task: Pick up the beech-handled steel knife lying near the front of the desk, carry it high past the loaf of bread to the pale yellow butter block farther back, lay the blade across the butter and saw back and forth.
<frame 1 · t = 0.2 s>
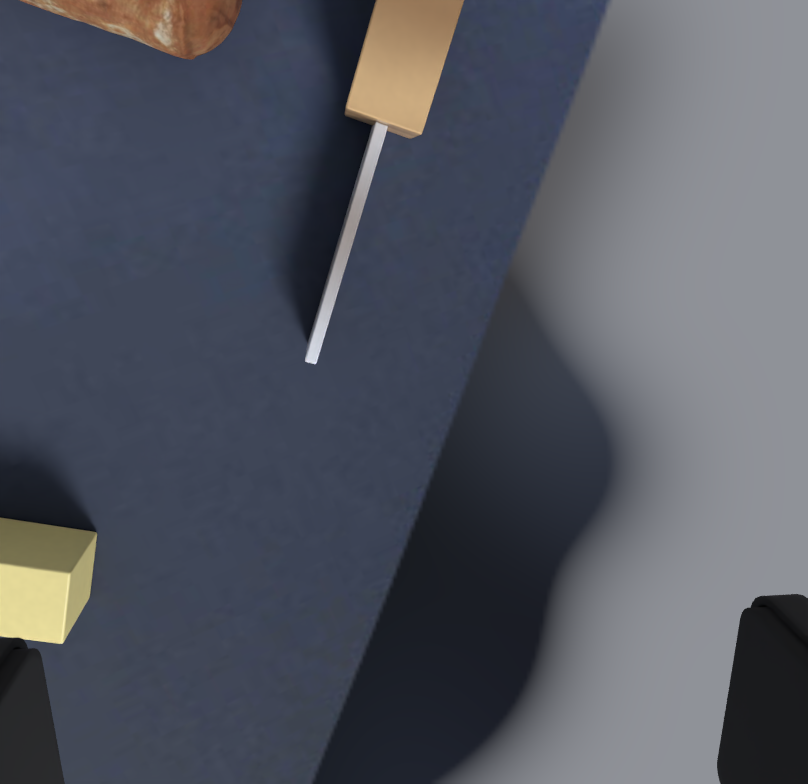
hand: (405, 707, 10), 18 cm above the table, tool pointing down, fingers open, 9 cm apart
knife: (410, 19, 23), on the table
butter: (27, 555, 28), on the table
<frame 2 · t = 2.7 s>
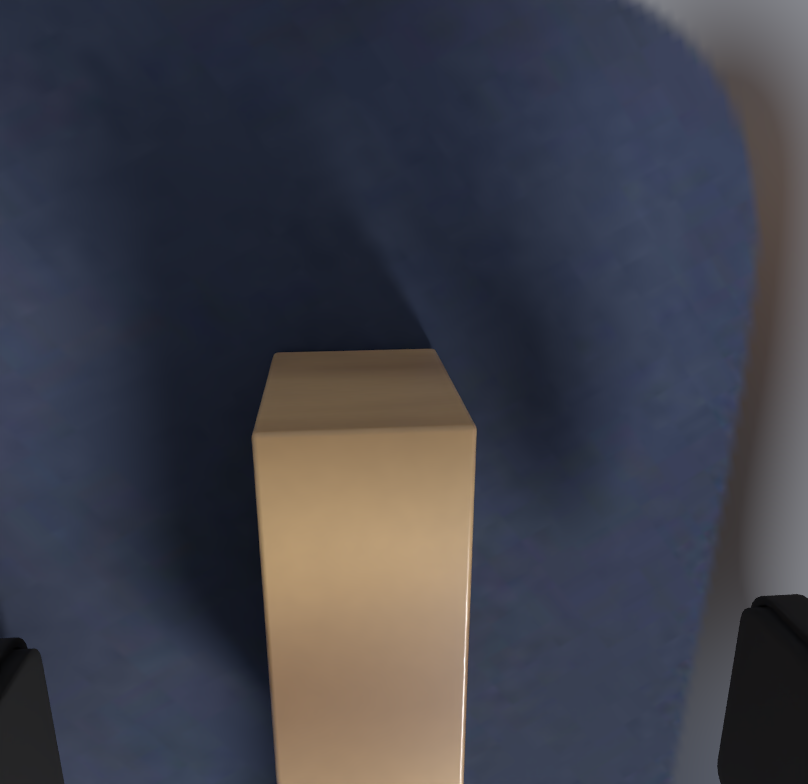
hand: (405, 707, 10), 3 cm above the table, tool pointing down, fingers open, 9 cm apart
knife: (359, 556, 12), on the table
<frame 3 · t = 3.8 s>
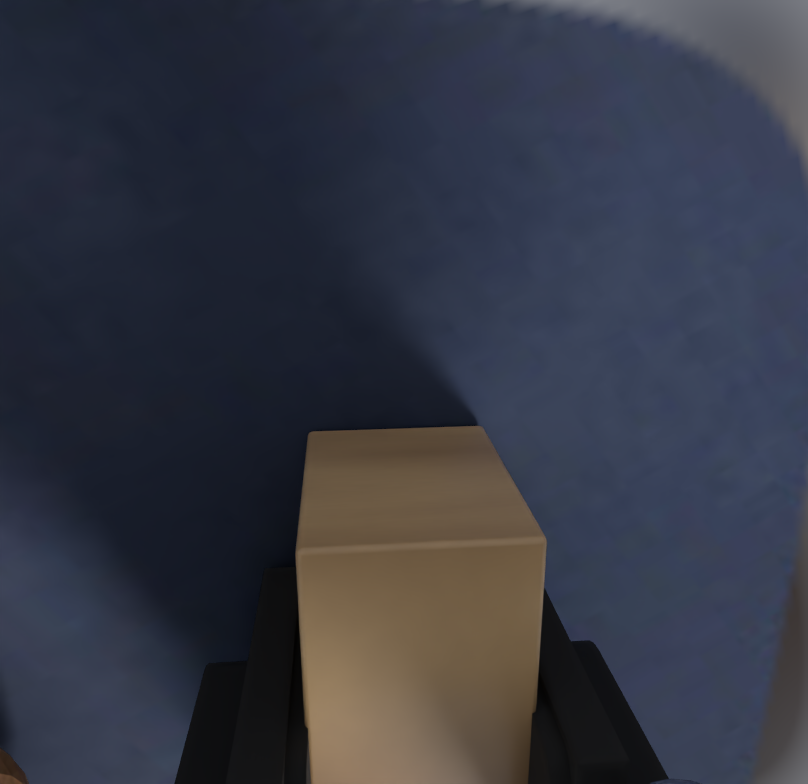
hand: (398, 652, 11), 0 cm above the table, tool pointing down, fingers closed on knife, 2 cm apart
knife: (397, 644, 11), on the table, touching gripper
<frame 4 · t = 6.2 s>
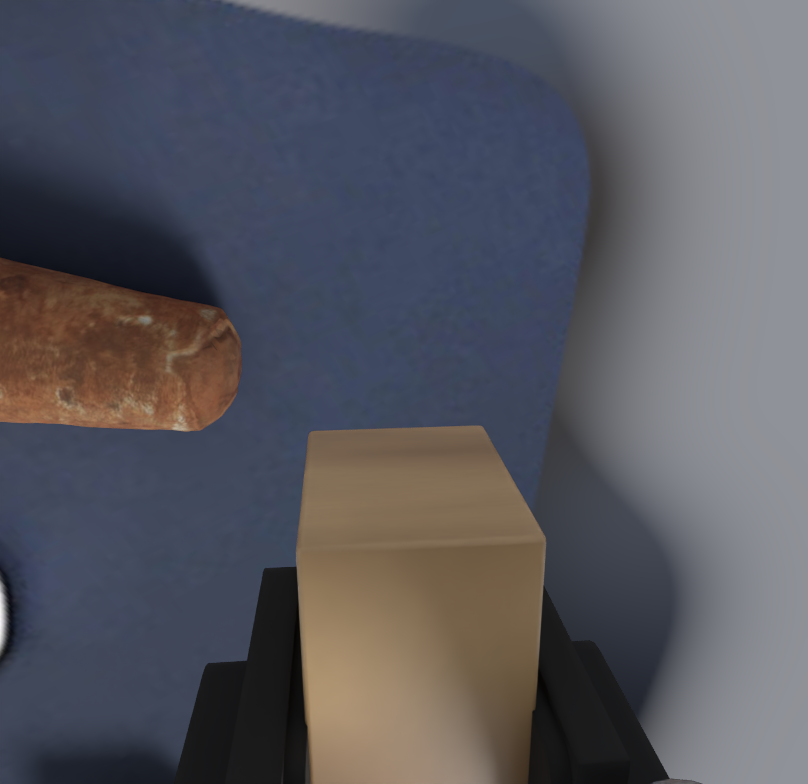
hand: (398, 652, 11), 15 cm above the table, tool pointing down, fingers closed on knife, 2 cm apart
knife: (398, 644, 11), point 15 cm above the table, touching gripper
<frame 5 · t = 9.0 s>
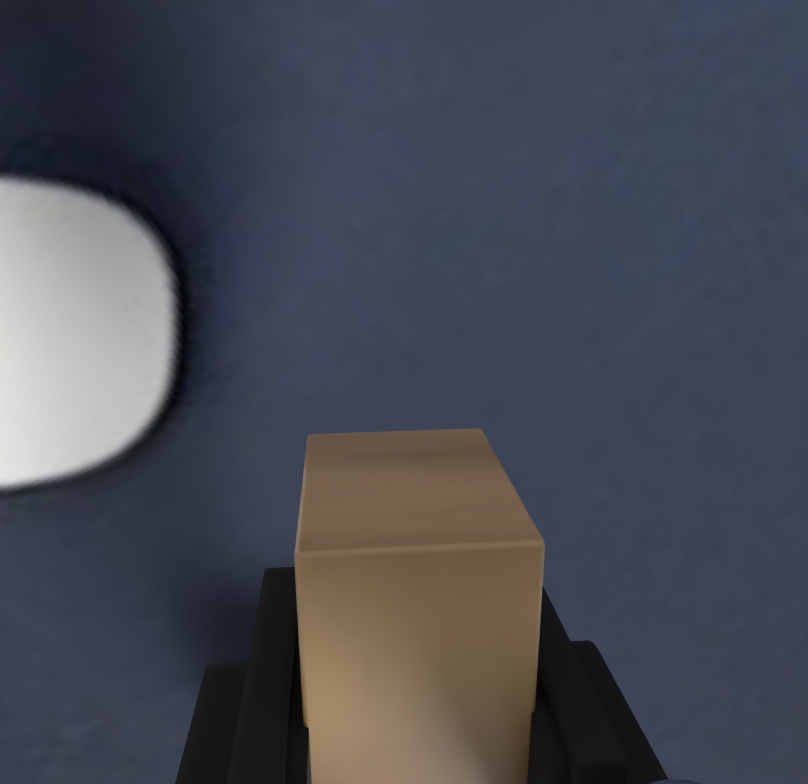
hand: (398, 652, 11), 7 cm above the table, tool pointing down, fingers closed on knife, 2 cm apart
knife: (397, 646, 11), point 7 cm above the table, touching gripper
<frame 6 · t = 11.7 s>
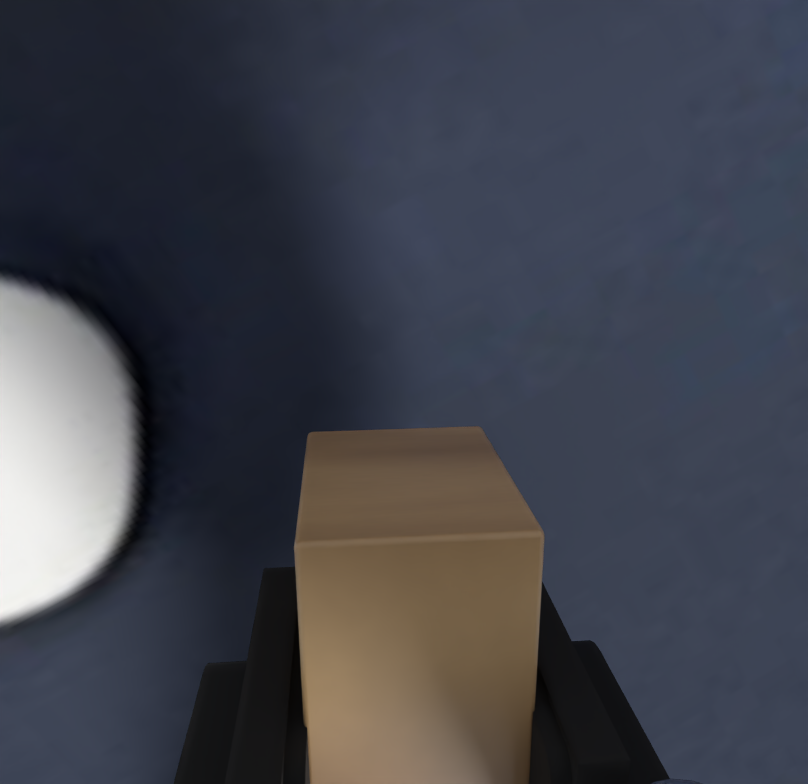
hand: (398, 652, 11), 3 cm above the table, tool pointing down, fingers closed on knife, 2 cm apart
knife: (397, 647, 11), point 3 cm above the table, touching butter, gripper
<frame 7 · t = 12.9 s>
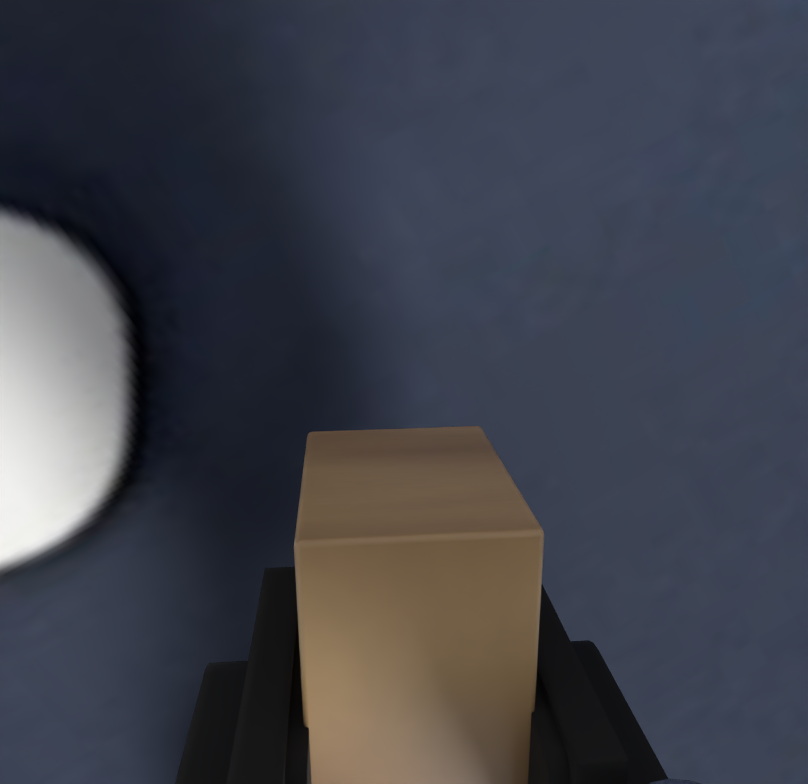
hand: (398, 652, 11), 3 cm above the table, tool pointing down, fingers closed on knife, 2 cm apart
knife: (397, 647, 11), point 3 cm above the table, touching gripper
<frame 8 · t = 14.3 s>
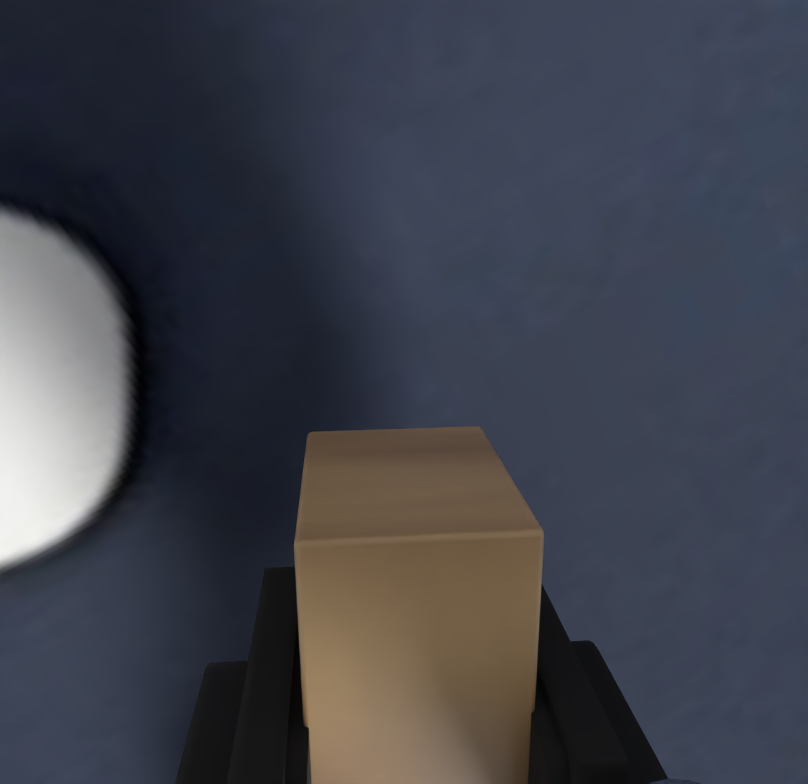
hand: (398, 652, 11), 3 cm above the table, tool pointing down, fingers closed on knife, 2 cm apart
knife: (397, 647, 11), point 3 cm above the table, touching butter, gripper
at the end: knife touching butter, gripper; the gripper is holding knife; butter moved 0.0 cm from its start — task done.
